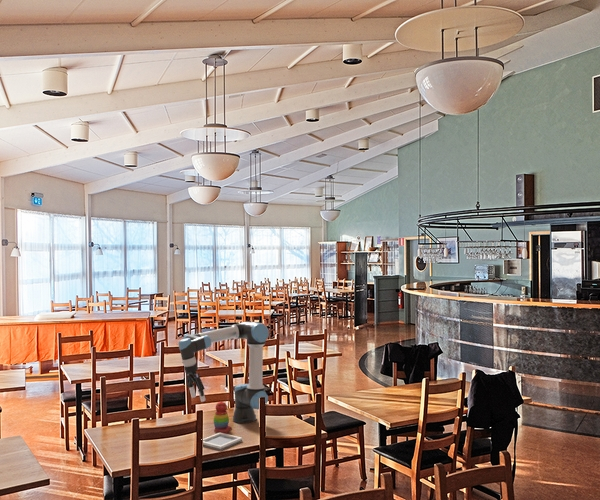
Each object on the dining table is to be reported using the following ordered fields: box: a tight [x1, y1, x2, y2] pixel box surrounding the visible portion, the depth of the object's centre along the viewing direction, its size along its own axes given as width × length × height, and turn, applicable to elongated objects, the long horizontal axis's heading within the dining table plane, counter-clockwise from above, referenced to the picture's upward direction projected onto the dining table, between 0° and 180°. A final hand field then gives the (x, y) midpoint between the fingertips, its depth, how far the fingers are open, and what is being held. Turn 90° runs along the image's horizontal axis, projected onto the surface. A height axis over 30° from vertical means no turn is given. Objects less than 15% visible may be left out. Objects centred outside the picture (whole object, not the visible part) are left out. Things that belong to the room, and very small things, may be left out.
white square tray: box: [202, 433, 243, 451], centre depth 339 cm, size 18×18×2 cm
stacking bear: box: [213, 400, 232, 434], centre depth 361 cm, size 11×10×18 cm
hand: (198, 399), depth 345 cm, fingers open, 13 cm apart
